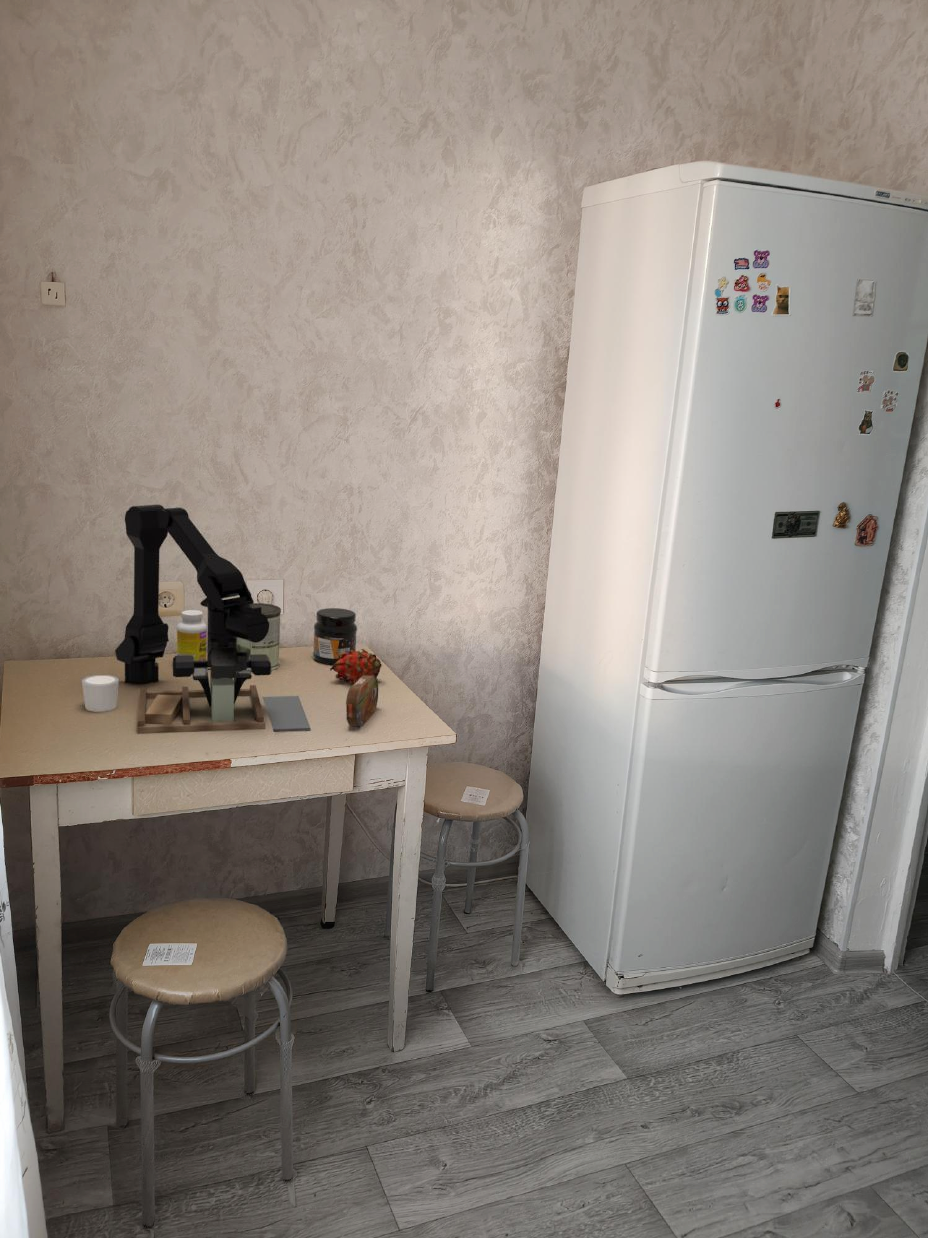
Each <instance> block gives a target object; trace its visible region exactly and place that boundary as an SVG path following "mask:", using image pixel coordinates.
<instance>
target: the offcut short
mask: <svg viewBox="0 0 928 1238" xmlns="http://www.w3.org/2000/svg"><path fill="white" fill-rule="evenodd" d="M181 708H182V695H157V697H156V698H155V699H153V702H152V703H151V704H150V705H149V707H148V709H147V710H146V714H145V725H161V724H173V722H174V720H175V719H176V716H177V715H178V714H179V711H180V709H181Z"/></svg>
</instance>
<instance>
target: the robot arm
mask: <svg viewBox="0 0 928 1238" xmlns="http://www.w3.org/2000/svg"><path fill="white" fill-rule="evenodd" d="M128 508H129V509H128V510H126V511H125V515H124V523H125V533H126V536H127V538H128V540H130V543H131V544H132V546H133V549H134V553H133V556H134V558H133V560H134V561H133V562H134V563H133V565H134V566H133V615H132V616H131V617H130V619H129V621H128V623H127V624H126V626H125V632H124V638H123V640H122V641H121V642H120V644H119V645H118V646H117V647H116V648H115V650H114V651H115V657H116V660H117V661H119V662H122V663H124V683H125V684H131V685H148V684H152V683H159V679H160V677H159V675H160V674H159V663H158V662H156V659H158V658H163V657H164V655H165V650H166V648H167V644H168V643H169V629H170V628H169V627H170V626H169V624H168V623H164V621H163V620H162V618H161V616H160V614H159V613H160V612H159V609H160V608H159V606H160V605H159V604H160V603H159V602H160V601H159V600H160V599H159V597H160V593H159V592H160V549H161V547H162V545H163V543H164V542H165V540H166V539H167V537H168V534H169V535H170V537H172V539H173V541H174V542H175V543H176V544H177V546H178V548H180V550H181V551H182V552H183V554H184V555H185V556H186V558H187V559H188V560H189V563H191V564H192V566H193V567H194V569H195V571H196V573H197V574H196V582H197V584H198V586H199V587H200V589H201V591H202V593H203V594H204V596H205V597H206V598H204V599H203V600H201V601H200V606H202V607H205V608H207V654H206V660H204V661H194V658H193V655H182V656H177V655H175V656H174V657H173V658H172V677H175V678H190V677H191V676H192V679H193V681H198V682H199V684H200V686H201V687H202V690H204V692H205V695H206V697H205V698H206V700H207V701H206V702H207V704H208V707H209V708H211V692H210V678H209V671H210V670H211V677H212V678H214V679H219V678H229V679H232V678H233V682H234V705H235V704H236V702H237V699H238V697H239V696H238V694H239V691H240V689H242V686H243V685H244V683H245V682H246V681H247V680H251V679H252V674H253V675H254V676H256V677H257V676H270V675H272V671H271V662H270V659H269V657H268V656H267V655H266V654H256V655H249V660H247V652H238V651H237V637H238V638H241V639H245V640H248V641H251V642H254V643H258V642H260V641H262V640H263V639H264V638H265V637H266V635H267V633H268V631H269V622H268V619H267V617H266V616H265V615H264V614H262V613H261V607H258V606H251V605H250V604H253V603H254V602H255V600H253V597H252V593H251V591H250V589H249V587H248V585H247V583H246V581H245V579H244V576H243V573H242V572H241V571H240V570H239V569H238V568H237V566H235V565H234V564H233V563H232V562H231V561H230V560H228V559H226V558H224V557H222V556H220V555H219V554H217V552H216V551H215V550H214V549H213V547H212V546H211V545H210V543H209V542H208V540H206V538H205V537H204V536H203V534H202V533H201V531H199V529H198V528H197V527H196V525H195V524H194V523H193V521H192V520H191V519H190V516H189V513H188V512H187V509H185V508H183V507H169V508H168V507H167V508H165V507H164V506H163V505H162V504H148V505H147V504H145V505H132V506H130V507H128Z"/></svg>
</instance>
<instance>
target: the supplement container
mask: <svg viewBox="0 0 928 1238" xmlns="http://www.w3.org/2000/svg"><path fill="white" fill-rule="evenodd" d="M356 616H357V614H356V613H355V611H353V610H351V609H346V608H338V607H336V608H335V607H330V608H322V609H319V610H317V612H316V617H315V618H316V622H315V623H314V625H313V629H314V630H313V631H314V632H313V634H314V635H313V652H312V656H313V659H314V660H315V661H317V662H318V663H322V664H324V663H325V664H326V665H331V666H333V665H334V664H335V663H336V662H337V661H338V660H339V659H340V658H341V656H342V654H345V653H349V651H350V650H355V651H356V649H357V648H356V646H357V632H358V626H357V624H356V623H355V622H356V620H357V619H356Z"/></svg>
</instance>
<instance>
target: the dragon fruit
mask: <svg viewBox="0 0 928 1238" xmlns="http://www.w3.org/2000/svg"><path fill="white" fill-rule="evenodd" d="M360 650H361V651H360ZM360 650H357V651H355V650H350V651H349V653H345V654H342V656H341V658H340V659H339V660H338V661H337V662H336V663H335V664H334V665H331V667H330V669H329V671H330V672H331V671H333V672H336V674H335V679H337V680H339V681H341V682H346V683H352V682H353V684H354V683H355V682H356V681H357V680H358V679H359V678H360V677H361V676H364V675H367V676H373V675H374V676H376V678H377V679H378V676H379V674H380V671H381V668H382V666H383V664H382V662H381V660H380V659H379V657H377V655H376V654H375V653H371V652H368V651H367V650H365V649H364V648H361V649H360Z"/></svg>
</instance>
